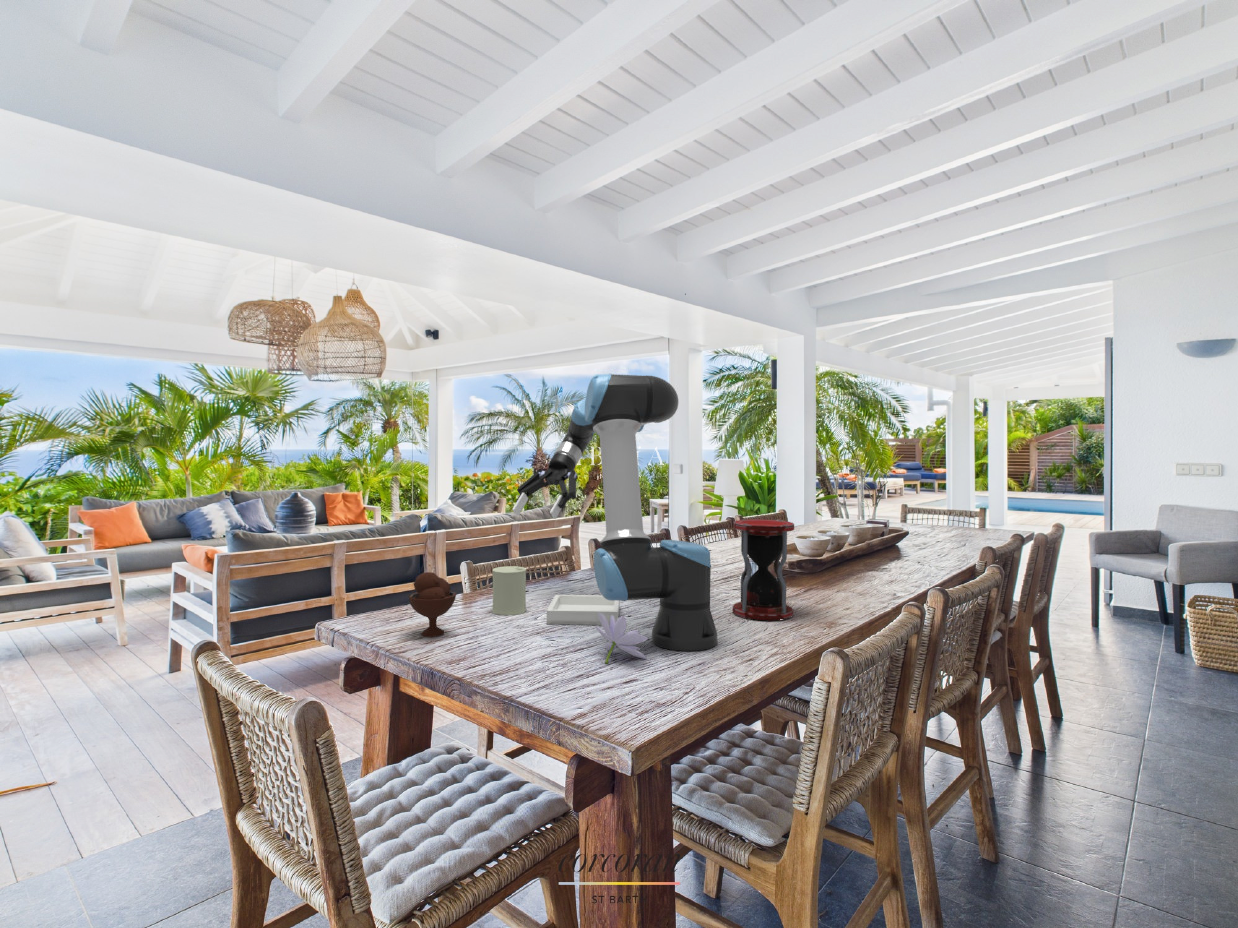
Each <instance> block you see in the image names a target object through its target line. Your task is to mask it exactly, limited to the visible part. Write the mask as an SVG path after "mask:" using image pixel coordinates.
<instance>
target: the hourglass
mask: <svg viewBox="0 0 1238 928" xmlns="http://www.w3.org/2000/svg"><path fill="white" fill-rule="evenodd" d="M733 528H734V530H738V531H741V536H740V537H741V538H740V539H741V540H740V543H741V544H740V548H741V549H740V552H741V555H742V558H743V562H744V570H743V571H742V572H741V576H740V601H739V602H736V603H734V604H733V605H732V613H733V615H735V616H737V617H739V618H742V619H746V618H748V619H747V620H750V619H756V620H755V621H758V620H766V621H765V622H772V621H771V620H780V619H786V620H788V619H787V618H789V619H791V618H792V617H793V616H794V609H793V608H792V607H791V606H790V605H788V604H787V583H786V581H785V579H784V577H783V567H784V565H785V564H786V562H787V558H788V533H789V532H793V531H794V530H795V523H794V522H791V521H786V520H781V519H780V520H778V519H759V518H758V519H754V518H753V519H737V520H735V521H733ZM750 559H751V560H752V561H753V563H754V564H755V565H756V566H757V568H758V569H757V570H756V571H755V572H754V573H753V568H752V564H751V562H750V561H751V560H750ZM772 564H773V571H774V573H775V575H776V577H777V578H776V577H775V575H774V574H772V572H771V571H770V570H769V567H770V565H772ZM752 573H753V574H752ZM791 616H792V617H791ZM790 617H791V618H790ZM767 620H768V621H767ZM780 621H781V620H780Z"/></svg>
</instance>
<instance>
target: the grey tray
mask: <svg viewBox="0 0 1238 928" xmlns="http://www.w3.org/2000/svg"><path fill="white" fill-rule="evenodd" d="M620 602H621V600H620V601H611V600H607V599H605V598H604V597H603V596H602V594H601V595H597V594H593V595H592V594H555V595H554V597H553V598H552V600H551V602H550V604H549V605H548V608H547V609H546V625H555V624H570V625H571V626H573V625H575V626H602V625H601V622H600V619H599V615H598V612H599V613H600V614H601V613H602V614H603V615H604V617H605V618H606V620H607V622H608V624H609V626H610V619H611V615H612V616H613V617H614V619H615V622H617V620H618V618H619V617H620V606H621V604H620ZM570 625H569V626H570Z"/></svg>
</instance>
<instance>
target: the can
mask: <svg viewBox="0 0 1238 928" xmlns="http://www.w3.org/2000/svg"><path fill="white" fill-rule="evenodd" d="M526 575H527V568H526V567H524V566H516V565H514V566H510V565H509V566H507V565H506V566H498V567H495V568H492V610H491V611H492V613H493V614H494V615H498V616H499V615H500V616H515V615H516V616H517V615H521V614H524V613H525V611H526V612H527V606H526V604H527V602H526V601H527V599H526V597H527V593H526V591H527V589H526V588H527V586H526V585H527V584H526V583H527V580H526V579H527V577H526ZM520 613H521V614H520Z"/></svg>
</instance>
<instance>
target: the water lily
mask: <svg viewBox="0 0 1238 928" xmlns="http://www.w3.org/2000/svg"><path fill="white" fill-rule="evenodd" d="M598 615H599V619H600V622H601V625H600V626H601V627H602V628H601V627H599V625H594V628H595V629H596V630H597V632H598V633H599V634H600V635H601V636H602V637H603V638H604V639H606V640H608V641H609V642H607V643H605V649H606V650H607V651H608V652H607V655H606V658H605V662H604V664H606V665H608V664H609V660H610V658H611V654H612V652H613V651H615V650H617V648H619V649H621V650H622V651H624V652H625V653H627V654H629V655H630V656H633V657H636V658H638V659H644V660H647V657H646V656H645V655H644V653H642V652H641V651H639V650H640V649H641V648H640V647H638V646H635V645H636V644H641V643H643V642H645V641H647V640H648V637H647V636H645V635H642V634H640V630H637V629H636V630H635V629H633V630H630V631H628V632H626V633H625V631H626V628H627V618H626V617H625V615H621V616H619V618H618V620H617V622H615V619H614V617H613V616H612V615H611V619H610V625H609V624H608V622H607V620H606V618H605V617H604V615H603V614H602V613H601V614H600V613H599V612H598Z"/></svg>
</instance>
